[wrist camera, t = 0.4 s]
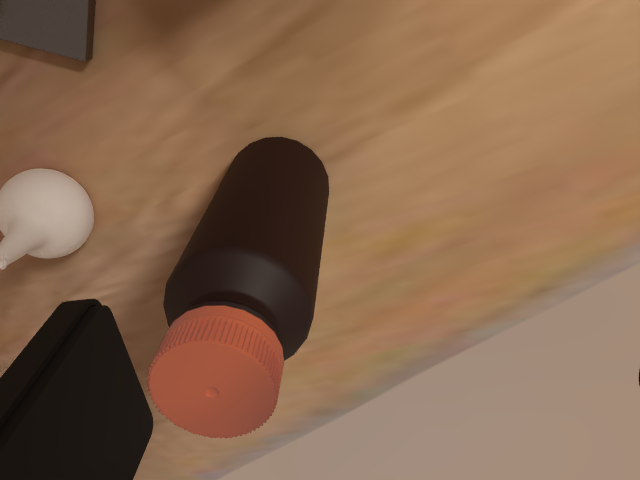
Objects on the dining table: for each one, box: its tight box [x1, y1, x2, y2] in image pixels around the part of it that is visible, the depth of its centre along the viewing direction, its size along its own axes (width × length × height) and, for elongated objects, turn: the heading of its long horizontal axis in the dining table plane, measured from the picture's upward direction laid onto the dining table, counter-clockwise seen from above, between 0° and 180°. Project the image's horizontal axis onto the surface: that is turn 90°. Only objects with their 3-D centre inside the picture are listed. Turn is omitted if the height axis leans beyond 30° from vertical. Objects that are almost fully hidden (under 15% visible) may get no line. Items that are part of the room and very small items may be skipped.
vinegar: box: [147, 137, 329, 438], centre depth 30 cm, size 7×7×20 cm
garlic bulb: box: [0, 168, 94, 270], centre depth 38 cm, size 6×6×8 cm
